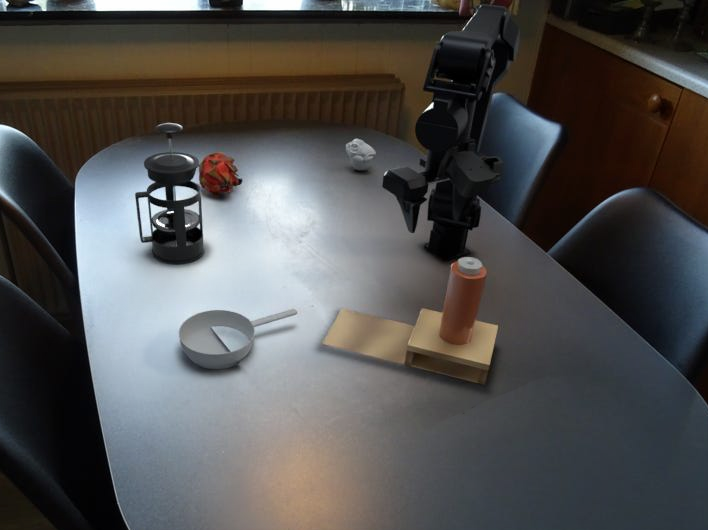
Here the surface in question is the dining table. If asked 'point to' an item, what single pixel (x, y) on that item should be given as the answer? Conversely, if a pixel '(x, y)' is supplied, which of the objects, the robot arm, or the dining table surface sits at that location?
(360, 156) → the frog figurine
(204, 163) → the dragon fruit
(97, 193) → the dining table surface
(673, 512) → the dining table surface
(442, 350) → the stand
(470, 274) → the pepper mill
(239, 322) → the saucepan
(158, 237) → the french press
